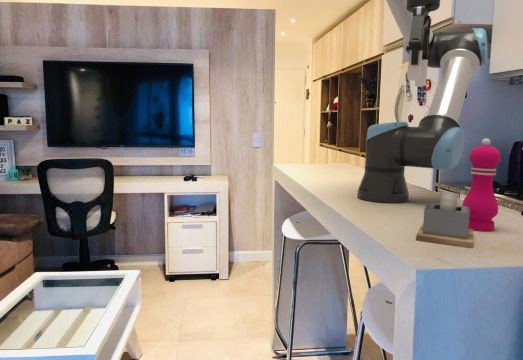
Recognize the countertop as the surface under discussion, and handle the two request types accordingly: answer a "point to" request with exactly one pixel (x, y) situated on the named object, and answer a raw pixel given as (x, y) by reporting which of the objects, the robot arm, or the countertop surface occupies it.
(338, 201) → the countertop surface
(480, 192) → the pepper mill
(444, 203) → the peg on square base
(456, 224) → the grey square ring block
